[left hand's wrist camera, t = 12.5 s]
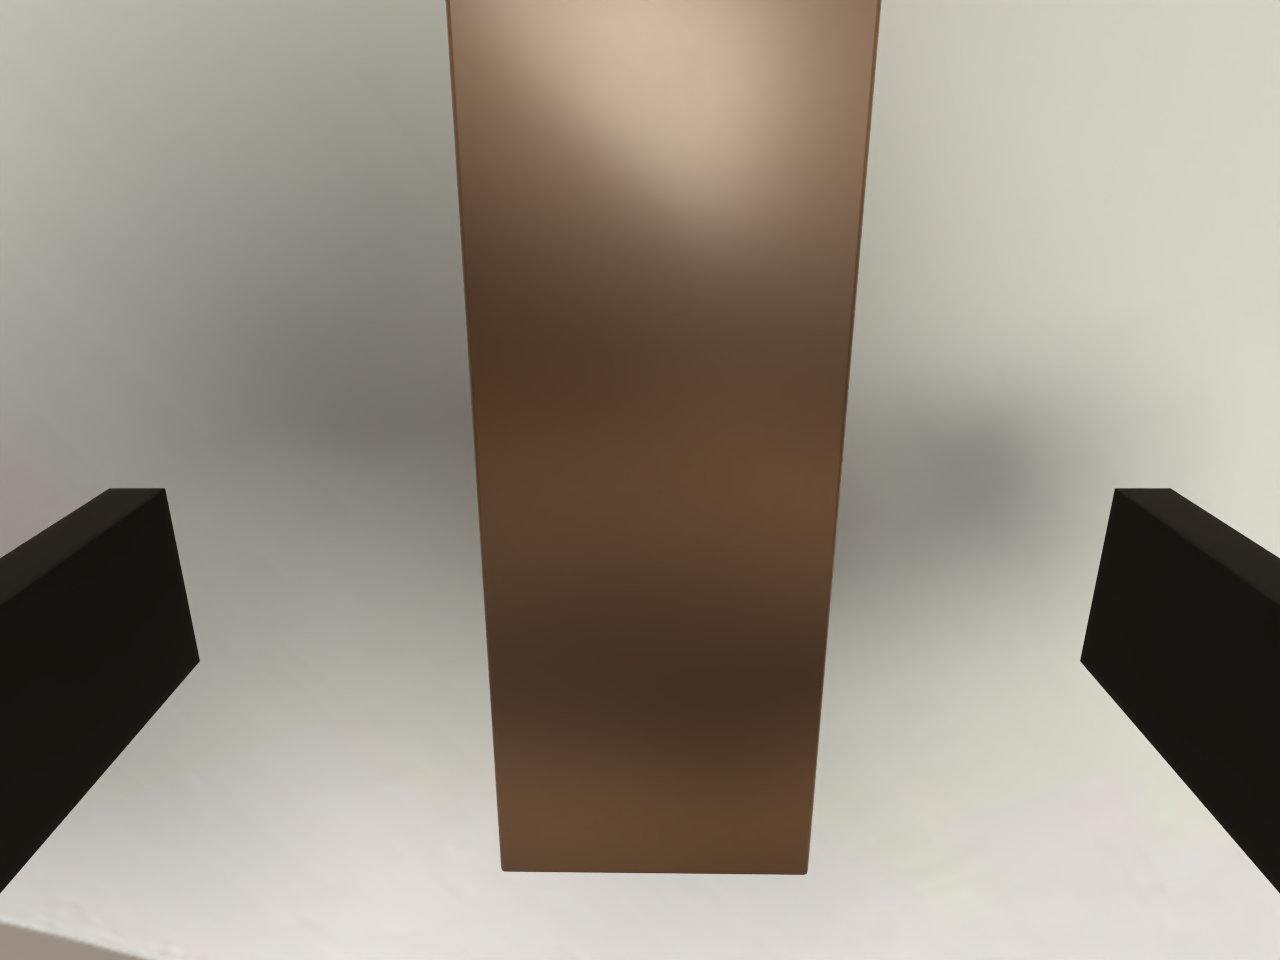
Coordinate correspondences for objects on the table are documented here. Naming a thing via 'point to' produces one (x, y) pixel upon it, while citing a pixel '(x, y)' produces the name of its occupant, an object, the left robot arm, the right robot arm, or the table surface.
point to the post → (659, 411)
